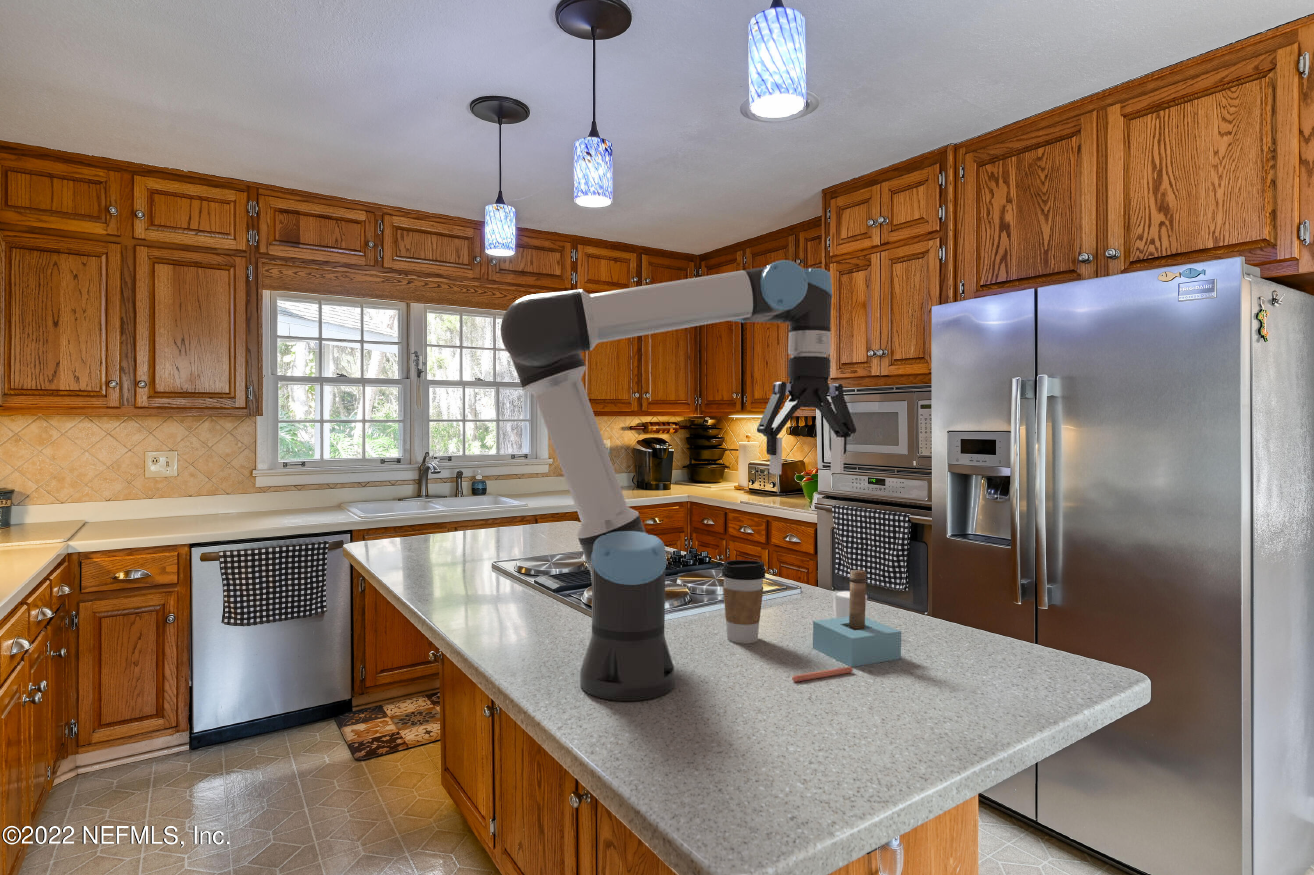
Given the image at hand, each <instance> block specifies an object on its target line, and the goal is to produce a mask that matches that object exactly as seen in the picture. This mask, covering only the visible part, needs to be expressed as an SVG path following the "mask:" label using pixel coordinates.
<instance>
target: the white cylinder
mask: <svg viewBox="0 0 1314 875" xmlns="http://www.w3.org/2000/svg"><path fill="white" fill-rule="evenodd" d="M867 600H868V595H867V594H866V602H867ZM832 601H833V602H832V604H833V605H832V606H833V618H841V617H849V605H850V590H837V591H834V592H832ZM866 609H867V603H866V604H865V611H867V610H866Z"/></svg>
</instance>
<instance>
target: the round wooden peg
mask: <svg viewBox="0 0 1314 875" xmlns="http://www.w3.org/2000/svg"><path fill="white" fill-rule="evenodd" d="M849 572H850V573H849V591H850V605H849V628H850V629H852V630H863V629H865V617H866V610H865V604H866V605H867V601H866V595H867V594H866V591H867V590H866V589H867V571H865V570H861V569H853V570H850V571H849Z"/></svg>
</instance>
